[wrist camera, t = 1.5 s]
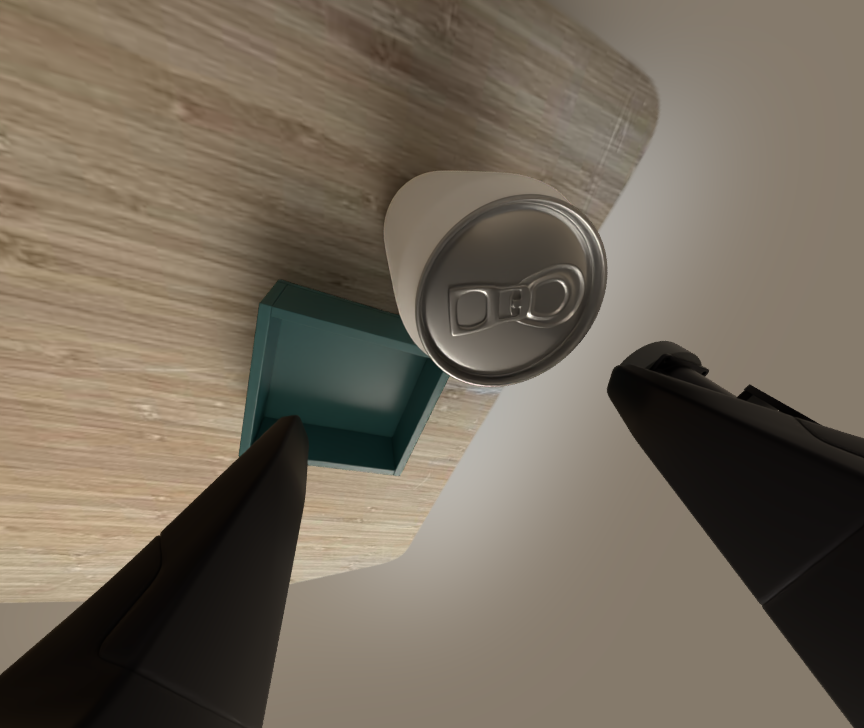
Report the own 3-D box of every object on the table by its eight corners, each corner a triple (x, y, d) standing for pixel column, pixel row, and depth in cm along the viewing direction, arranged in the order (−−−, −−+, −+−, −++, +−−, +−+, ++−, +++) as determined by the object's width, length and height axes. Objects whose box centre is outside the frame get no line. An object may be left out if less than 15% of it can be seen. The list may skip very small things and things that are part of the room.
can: (487, 278, 21) (596, 380, 11) (391, 291, 20) (413, 413, 10) (489, 164, 17) (653, 158, 7) (373, 176, 17) (379, 187, 7)
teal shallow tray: (445, 329, 22) (459, 357, 19) (396, 439, 27) (400, 476, 24) (278, 278, 19) (258, 302, 15) (256, 416, 24) (238, 457, 20)
